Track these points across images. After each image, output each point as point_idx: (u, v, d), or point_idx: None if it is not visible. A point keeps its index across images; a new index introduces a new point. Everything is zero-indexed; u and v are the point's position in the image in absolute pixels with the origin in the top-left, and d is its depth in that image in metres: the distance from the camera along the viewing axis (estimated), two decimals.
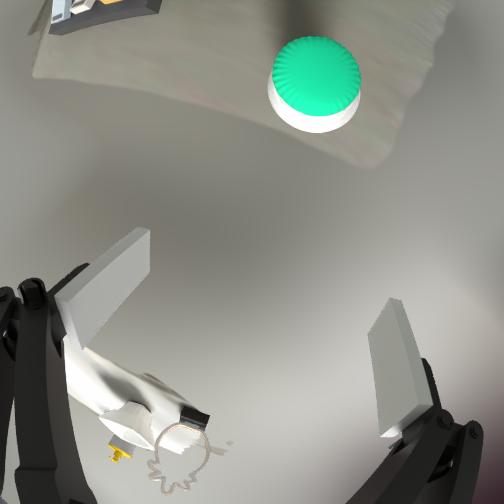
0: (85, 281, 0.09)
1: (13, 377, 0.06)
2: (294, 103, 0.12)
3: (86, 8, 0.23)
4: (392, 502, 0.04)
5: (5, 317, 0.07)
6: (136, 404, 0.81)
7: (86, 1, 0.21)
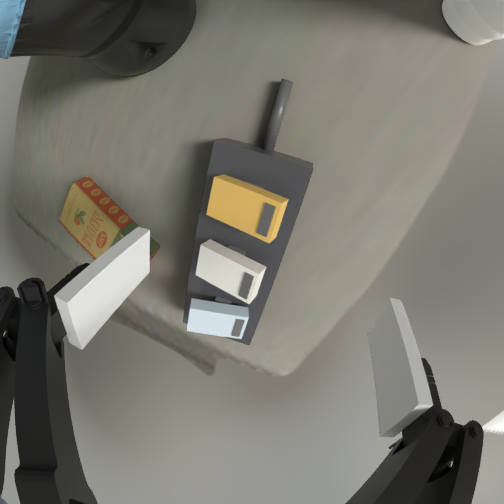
0: (85, 281, 0.09)
1: (13, 377, 0.06)
2: None
3: (262, 273, 0.28)
4: (392, 502, 0.04)
5: (5, 317, 0.07)
6: None
7: (251, 270, 0.27)
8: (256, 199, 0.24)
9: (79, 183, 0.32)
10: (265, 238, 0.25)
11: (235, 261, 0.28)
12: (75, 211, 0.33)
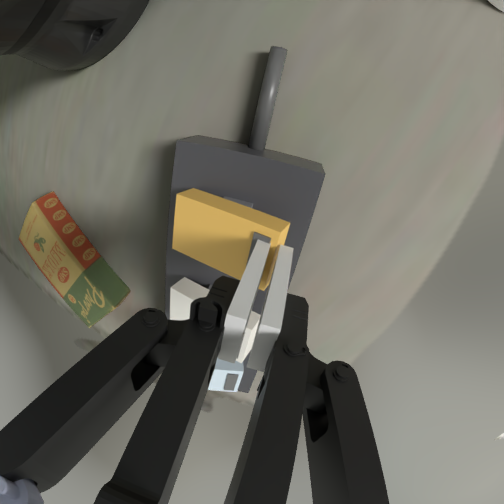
0: (248, 295, 0.11)
1: (126, 404, 0.07)
2: None
3: (257, 324, 0.20)
4: (269, 453, 0.05)
5: (146, 348, 0.08)
6: None
7: None
8: (240, 226, 0.15)
9: (40, 202, 0.23)
10: None
11: None
12: (35, 235, 0.24)
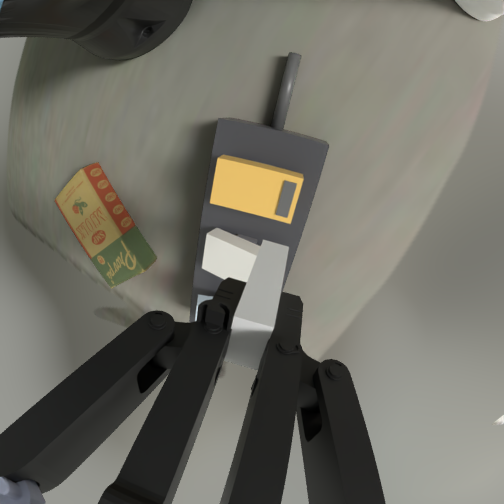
0: (255, 297, 0.11)
1: (131, 407, 0.07)
2: None
3: None
4: (263, 452, 0.05)
5: (152, 351, 0.08)
6: None
7: None
8: (273, 178, 0.21)
9: (87, 170, 0.29)
10: (285, 219, 0.23)
11: (247, 250, 0.25)
12: (76, 199, 0.30)
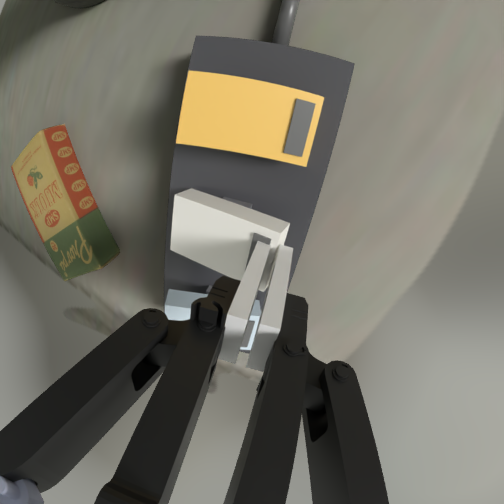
0: (249, 296, 0.11)
1: (127, 405, 0.07)
2: None
3: (284, 234, 0.16)
4: (268, 453, 0.05)
5: (146, 348, 0.08)
6: None
7: (265, 229, 0.15)
8: (278, 95, 0.12)
9: (48, 132, 0.19)
10: (299, 159, 0.14)
11: (236, 215, 0.15)
12: (31, 168, 0.20)
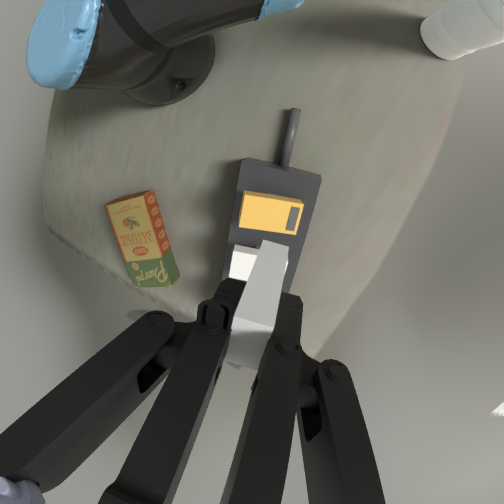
0: (255, 297, 0.11)
1: (131, 407, 0.07)
2: None
3: None
4: (263, 452, 0.05)
5: (152, 351, 0.08)
6: None
7: None
8: (284, 205, 0.31)
9: (146, 197, 0.39)
10: (292, 232, 0.33)
11: None
12: (129, 216, 0.40)
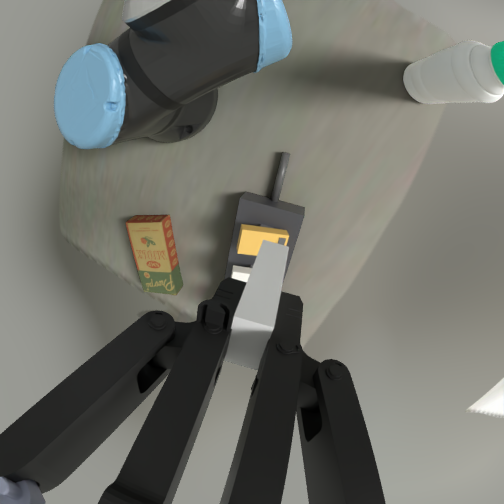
0: (255, 297, 0.11)
1: (131, 407, 0.07)
2: None
3: None
4: (263, 452, 0.05)
5: (152, 351, 0.08)
6: None
7: None
8: (273, 237, 0.40)
9: (163, 223, 0.47)
10: None
11: None
12: (147, 236, 0.48)
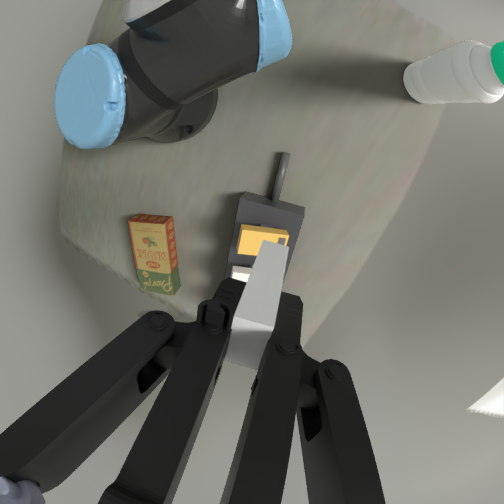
0: (255, 297, 0.11)
1: (131, 407, 0.07)
2: None
3: None
4: (263, 452, 0.05)
5: (152, 351, 0.08)
6: None
7: None
8: (273, 237, 0.40)
9: (167, 225, 0.47)
10: None
11: None
12: (149, 236, 0.48)
